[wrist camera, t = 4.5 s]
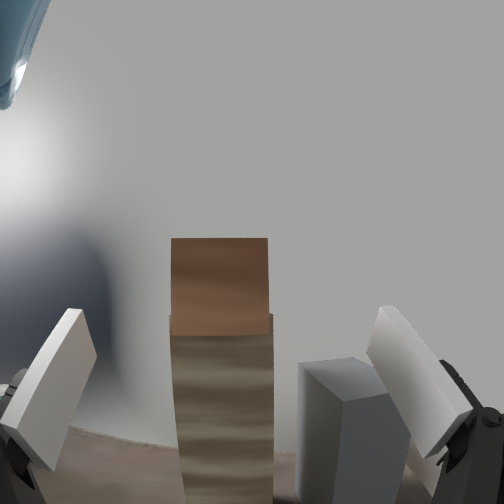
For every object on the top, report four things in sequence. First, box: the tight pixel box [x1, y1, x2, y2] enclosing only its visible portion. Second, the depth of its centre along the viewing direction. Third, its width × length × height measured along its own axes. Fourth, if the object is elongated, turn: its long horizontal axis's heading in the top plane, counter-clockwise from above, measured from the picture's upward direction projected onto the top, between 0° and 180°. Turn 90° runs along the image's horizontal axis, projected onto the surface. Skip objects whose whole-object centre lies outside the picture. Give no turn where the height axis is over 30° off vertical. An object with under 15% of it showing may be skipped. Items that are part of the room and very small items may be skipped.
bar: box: [171, 238, 269, 336], centre depth 25 cm, size 26×4×4 cm, turn 6°
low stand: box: [294, 357, 411, 504], centre depth 30 cm, size 16×8×22 cm, turn 6°
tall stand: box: [169, 313, 274, 504], centre depth 29 cm, size 16×8×30 cm, turn 6°
